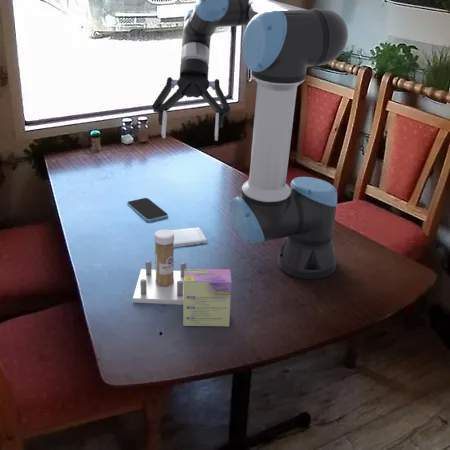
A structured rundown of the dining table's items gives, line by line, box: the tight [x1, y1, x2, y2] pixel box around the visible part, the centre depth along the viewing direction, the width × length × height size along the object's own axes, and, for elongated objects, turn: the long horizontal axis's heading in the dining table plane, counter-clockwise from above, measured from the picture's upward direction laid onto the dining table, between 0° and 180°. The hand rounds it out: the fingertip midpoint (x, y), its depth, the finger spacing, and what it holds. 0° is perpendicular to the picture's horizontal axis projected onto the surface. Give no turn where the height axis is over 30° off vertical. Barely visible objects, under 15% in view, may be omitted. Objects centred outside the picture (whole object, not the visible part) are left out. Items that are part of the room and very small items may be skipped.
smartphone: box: [126, 197, 169, 223], centre depth 194 cm, size 7×1×15 cm
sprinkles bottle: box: [154, 229, 175, 286], centre depth 153 cm, size 5×5×14 cm
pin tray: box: [132, 260, 187, 306], centre depth 155 cm, size 13×13×5 cm
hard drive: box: [170, 227, 208, 248], centre depth 178 cm, size 2×8×12 cm
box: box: [182, 268, 232, 328], centre depth 143 cm, size 10×6×12 cm, turn 92°
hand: (189, 137), depth 165 cm, fingers open, 13 cm apart
